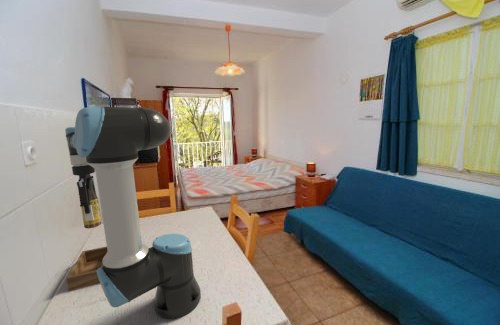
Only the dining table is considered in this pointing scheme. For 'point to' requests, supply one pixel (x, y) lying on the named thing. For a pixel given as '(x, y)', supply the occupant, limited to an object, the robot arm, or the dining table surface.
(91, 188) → the sauce bottle
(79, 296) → the dining table surface
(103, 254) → the caddy
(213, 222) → the dining table surface
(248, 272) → the dining table surface
